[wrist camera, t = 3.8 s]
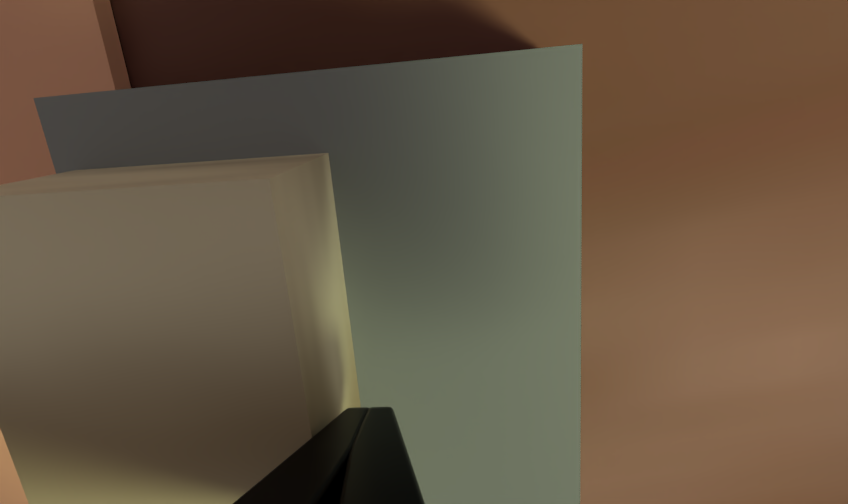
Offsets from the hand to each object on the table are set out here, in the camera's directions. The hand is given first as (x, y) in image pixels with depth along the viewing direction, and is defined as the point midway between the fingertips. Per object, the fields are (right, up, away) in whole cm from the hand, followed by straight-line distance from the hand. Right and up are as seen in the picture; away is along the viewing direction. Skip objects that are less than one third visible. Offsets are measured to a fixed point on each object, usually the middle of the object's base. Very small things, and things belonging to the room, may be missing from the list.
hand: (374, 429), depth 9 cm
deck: (-1, +1, +5) cm, 5 cm away
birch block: (-3, 0, +1) cm, 3 cm away
